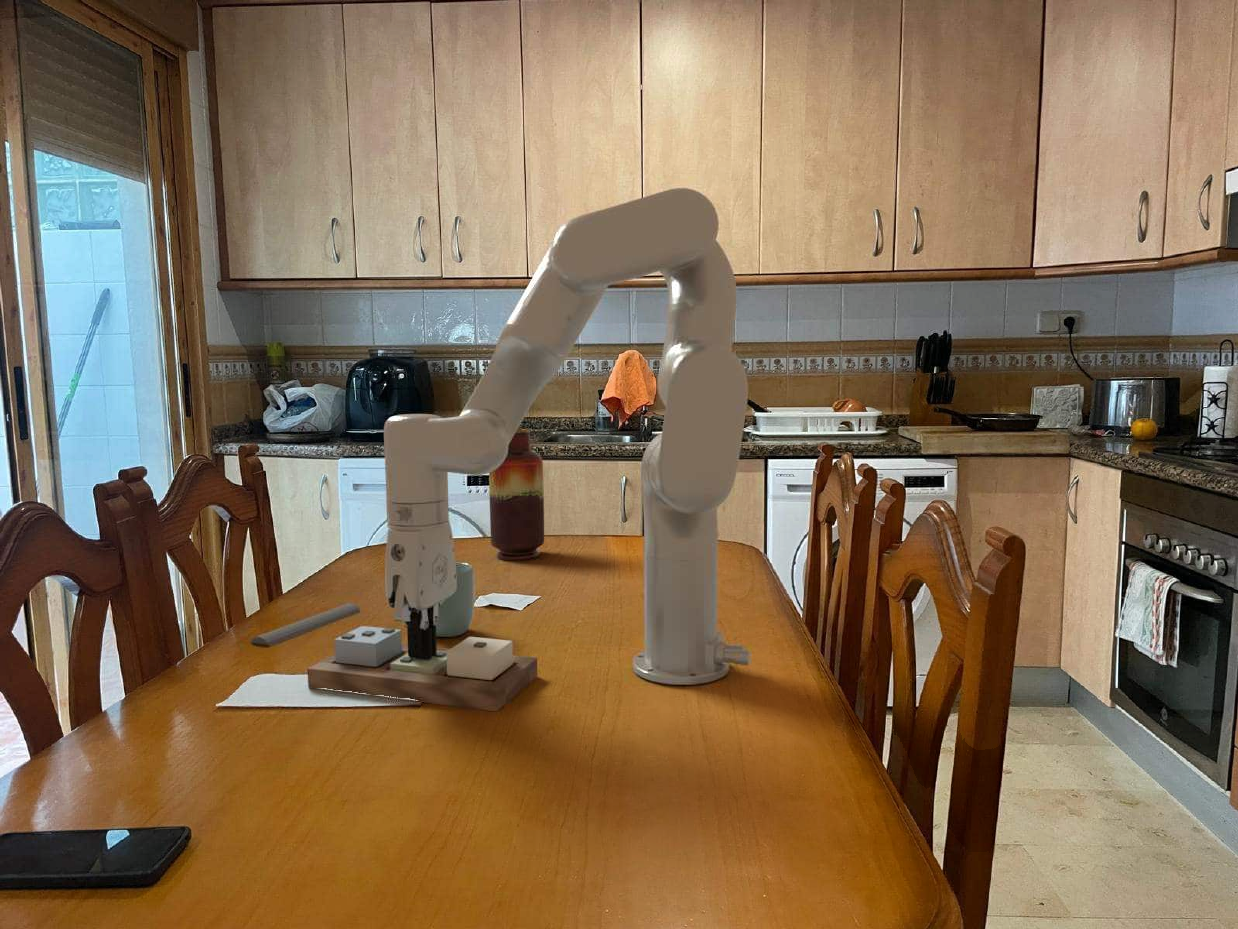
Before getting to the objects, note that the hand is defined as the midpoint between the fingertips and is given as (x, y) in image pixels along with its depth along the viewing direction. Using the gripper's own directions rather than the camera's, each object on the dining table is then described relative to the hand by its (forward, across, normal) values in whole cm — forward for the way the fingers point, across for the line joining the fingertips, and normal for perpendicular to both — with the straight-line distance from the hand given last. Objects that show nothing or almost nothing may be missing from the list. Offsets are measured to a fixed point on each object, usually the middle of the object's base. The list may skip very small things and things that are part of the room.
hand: (422, 656), depth 114 cm
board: (+3, 0, 0) cm, 3 cm away
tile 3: (+1, 0, +8) cm, 8 cm away
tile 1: (+1, 0, -8) cm, 8 cm away
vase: (+4, +70, +19) cm, 73 cm away
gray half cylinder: (+4, +16, +29) cm, 34 cm away
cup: (+4, +19, +7) cm, 21 cm away
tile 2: (+3, 0, 0) cm, 3 cm away
